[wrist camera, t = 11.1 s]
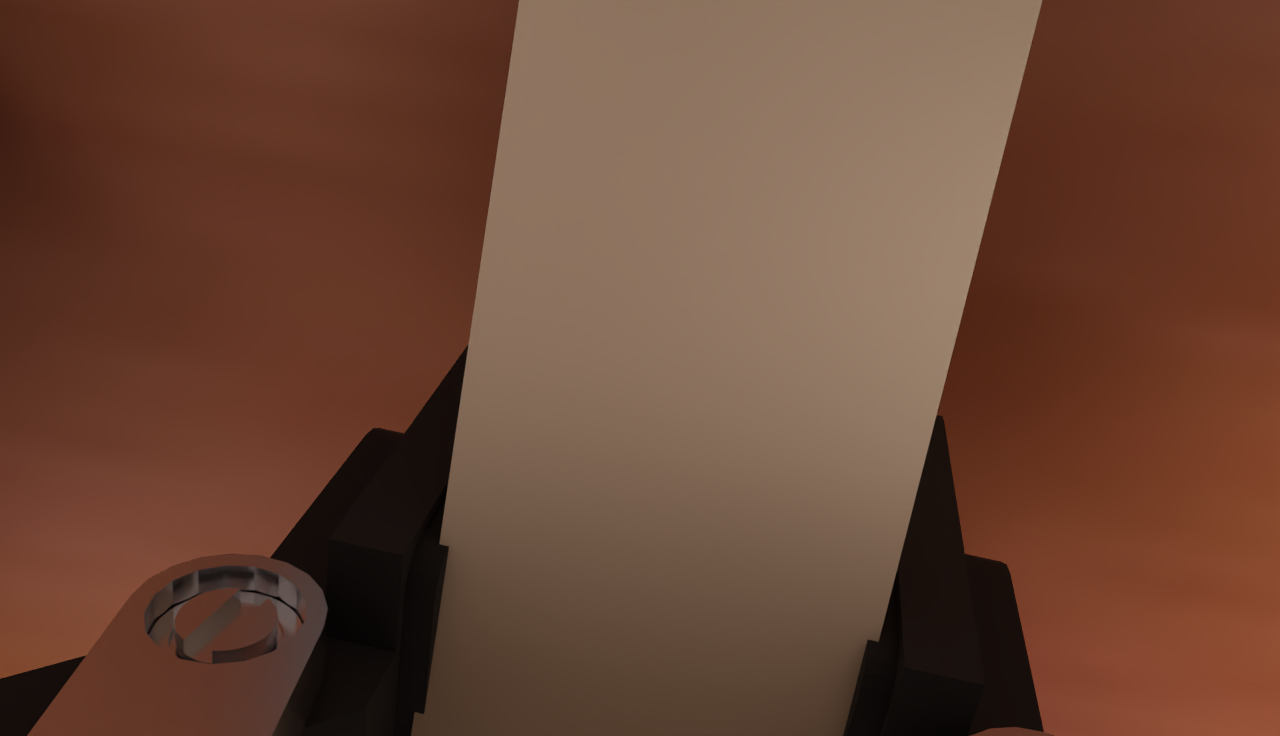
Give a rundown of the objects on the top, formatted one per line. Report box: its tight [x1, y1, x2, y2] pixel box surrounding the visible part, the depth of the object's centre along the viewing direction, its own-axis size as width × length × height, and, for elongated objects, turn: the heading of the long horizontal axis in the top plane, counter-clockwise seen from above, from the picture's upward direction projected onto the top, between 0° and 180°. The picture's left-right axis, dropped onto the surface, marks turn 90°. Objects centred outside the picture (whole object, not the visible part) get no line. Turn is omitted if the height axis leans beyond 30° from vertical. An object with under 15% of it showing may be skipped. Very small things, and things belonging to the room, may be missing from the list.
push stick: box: [411, 0, 1042, 736], centre depth 11 cm, size 12×3×5 cm, turn 171°
